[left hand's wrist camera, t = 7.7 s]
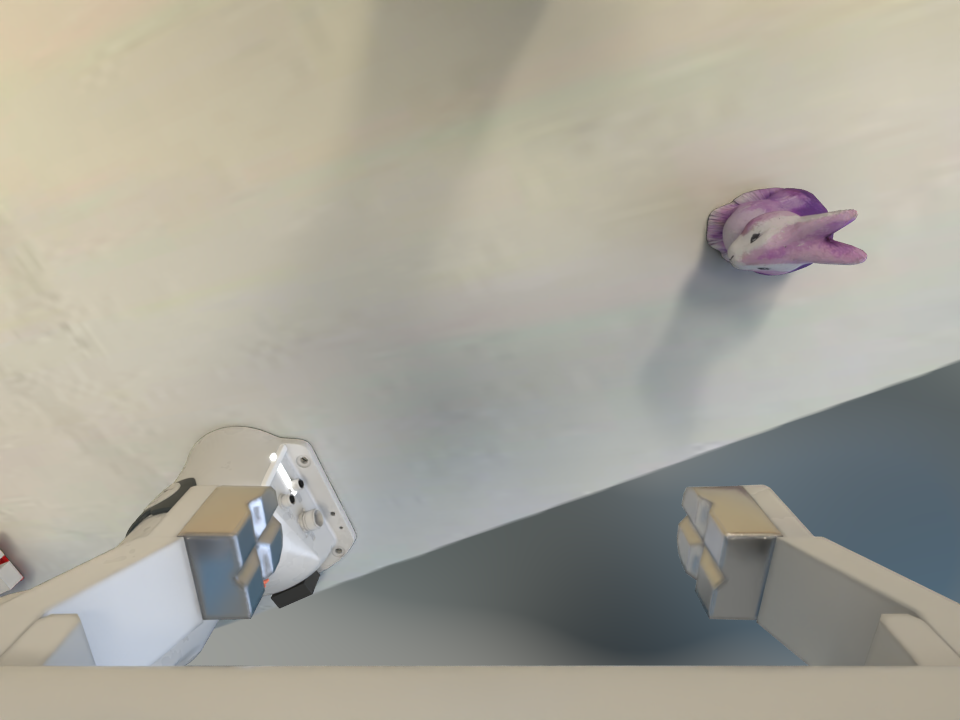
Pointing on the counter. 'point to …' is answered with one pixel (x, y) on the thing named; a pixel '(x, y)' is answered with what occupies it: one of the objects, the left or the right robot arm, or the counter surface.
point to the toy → (8, 574)
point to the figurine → (780, 232)
